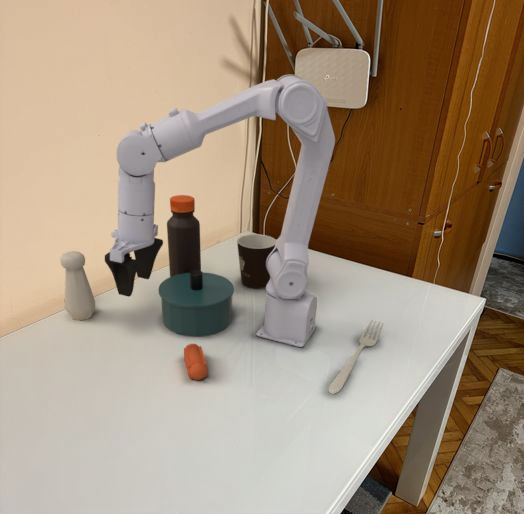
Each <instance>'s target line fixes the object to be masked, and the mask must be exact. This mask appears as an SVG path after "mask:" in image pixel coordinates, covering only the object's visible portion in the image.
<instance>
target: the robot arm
mask: <svg viewBox="0 0 524 514" xmlns="http://www.w3.org/2000/svg"><path fill="white" fill-rule="evenodd" d="M276 114H277V115H278V117H280V118H281V119H282V120H283V122H284V123H286V124H287V125H288V126H289V127H290V128H291V130H292V131H293V133H294V134H295V135H296V137H297V139H298V141H299V142H300V144H301V146H300V150H299V155H298V160H297V163H296V167H295V171H294V176H293V182H292V184H291V189H290V193H289V198H288V203H287V207H286V211H285V214H284V219H283V224H282V228H281V232H280V235H279V236H278V238H277V239H275V240H276V244H275V247H274V249H273V251H272V252H271V253H270V254H269V256H268V258H267V260H266V268H267V271H268V273H269V274H270V280H269V282H268V284H267V285H266V287H265V298H264V299H265V300H264V303H265V304H264V319H263V321H264V322H263V325H262V326H261V327H260V328H259V329H258V331H256V332H255V335H256V337H259V338H263V339H267V340H271V341H275V342H278V343H283V344H285V345H290V346H294V347H297V348H304V346H305V345H306V344H307V342H308V341H309V340H310V338H311V336H312V335H313V333H314V332H315V330H316V318H317V308H318V297H317V296H316V295H315V294H314V295H313V294H311V293H309V292H308V291H307V289H308V287H309V275H308V266H309V261H310V259H309V242H310V239H311V235H312V231H313V228H314V224H315V221H316V217H317V213H318V210H319V209H318V208H319V205H320V201H321V198H322V194H323V190H324V186H325V182H326V179H327V175H328V172H329V168H330V164H331V159H332V156H333V152H334V148H335V145H336V144H335V143H336V136H335V133H334V129H333V125H332V122H331V118H330V114H329V109H328V101H327V99H326V98H325V97H324V96H323V94H322V93H321V92H320V90H319V89H318V88H317V86H316V85H315V84H314V83H313V82H311V81H309V80H306V79H303V78H301V77H300V76H298V75H297V74H290V73H289V74H284V75H281V76H280V77H278V78H277V79H276V80H275V79H268V80H266V81H263V82H260V83H258V84H255V85H253V86H251V87H249V88H247V89H244V90H242V91H240V92H238V93H236V94H234V95H232V96H230V97H228V98H226V99H224V100H222V101H220V102H218V103H216V104H214V105H212V106H210V107H208V108H206V109H203V110H202V111H199V112H194V111H191V110H189V109H186V108H183V109H181V110H178V108H177V107H174V108H171V109H170V110H168V116H165V117H163V118H161V119H158V120H156V121H154V122H152V123H150V124H147V122H143V123H141V124H140V125H139V129H140V130H139V129H132V130H130V131H128V132H126V133H125V134H124V135H123V136H122V137H121V138H120V141H119V143H118V145H117V148H116V161H117V162H118V165H119V167H118V172H117V173H118V177H119V178H118V180H117V229H114V230H113V231H111V233H110V234H111V235H110V236H111V238H114V242H113V245H112V247H111V248H110V249H109V252H107V253H106V254H104V263H105V264H106V265H107V267H108V268H109V270H110V272H111V273H112V276H113V279H114V282H115V286H116V289H117V292H118V295H120V296H124V297H128V298H129V297H131V296H132V295H133V291H134V286H135V278H136V276H137V278H140V279H144V280H149V279H150V278H151V275H152V272H153V268H154V265H155V262H156V258H157V256H158V254H159V251H160V250H161V248H162V247H163V246H164V240H163V239H162V238H157V236H158V235H159V225H158V224H156V223H155V203H156V201H155V198H156V182H155V180H154V179H155V168H156V165H157V163H167V162H169V161H171V160H173V159H175V158H178V157H181V156H182V155H185V154H187V153H189V152H191V151H194V150H196V149H199V148H200V147H202V145H203V142H204V139H205V137H206V135H208V134H211V133H214V132H217V131H219V130H222V129H224V128H227V127H230V126H232V125H234V124H237V123H239V122H242V121H245V120H248V119H250V118H253V117H258V118H262V119H267V120H271V121H276V120H277V119H276V118H277V115H276ZM132 252H133V254H134V258H133V257H132V256H131V253H132Z"/></svg>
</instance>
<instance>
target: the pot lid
mask: <svg viewBox="0 0 524 514" xmlns="http://www.w3.org/2000/svg"><path fill="white" fill-rule="evenodd" d="M234 293H235V286H234V284H233V282H232V281H231V280H230V279H228V278H226V277H224V276H222V275H219V274H215V273H212V272H203V271H202V270H201V271H200V270H193V271H191V272H190V273H183V274H178V275H175V276H172V277H170V276H169V277H168V278H166V279H164V280H163V281H162V282H161V283H160V284H159V285H158V295H159V297H160V299H161V298H162V299H163V300H165V301H166V302H168V303H170V304H173V305H176V306H180V307H187V308H203V307H210V306H215V305H218V304H221V303H223V302H225V301H227V300H228V299H229V298H231V296H232V297H233V296H234Z"/></svg>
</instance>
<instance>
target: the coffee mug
mask: <svg viewBox="0 0 524 514" xmlns="http://www.w3.org/2000/svg"><path fill="white" fill-rule="evenodd" d="M276 240H277V239H275V238H274V237H272V236H270V235H266V234H261V233H250V234H244V235H242V236H240V237H238V238H237V240H236V244H237V245H236V246H237V252H238V253H237V255H238V263H239V271H240V281H241V282H240V283H241V285H242V286H243V287H245V288H249V289H254V290H260V289H266V285H267V284H268V282H269V280H270V278H271V277H270V274H269V273H268V271H267V268H266V260H267V258H268V256H269V254H270V253H271V252H272V251H273V249H274V247H275V244H276Z"/></svg>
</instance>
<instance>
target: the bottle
mask: <svg viewBox="0 0 524 514" xmlns="http://www.w3.org/2000/svg"><path fill="white" fill-rule="evenodd" d="M195 202H196V201H195V197H193V196H192V195H188V194H187V195H186V194H179V195H178V194H177V195H173V196H171V197H170V198H169V207H170V212H171V214H172V215H171V217H170V218H169V219H168V220H167V221H166V233H167V246H168V247H167V249H168V264H169V265H168V266H169V267H168V268H169V277H172V276H175V275H178V274H183V273H190V272H191V271H193V270H200V271H202V255H201V254H202V253H201V224H200V220H199V219H198V218H197V217H196V216H195V215H194V213H195V212H196V211H195V210H196V207H195V205H196V204H195Z"/></svg>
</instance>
